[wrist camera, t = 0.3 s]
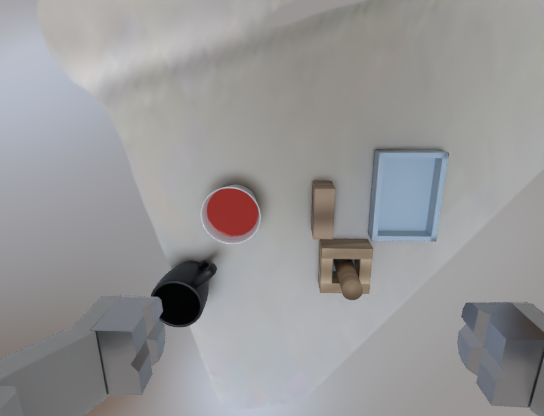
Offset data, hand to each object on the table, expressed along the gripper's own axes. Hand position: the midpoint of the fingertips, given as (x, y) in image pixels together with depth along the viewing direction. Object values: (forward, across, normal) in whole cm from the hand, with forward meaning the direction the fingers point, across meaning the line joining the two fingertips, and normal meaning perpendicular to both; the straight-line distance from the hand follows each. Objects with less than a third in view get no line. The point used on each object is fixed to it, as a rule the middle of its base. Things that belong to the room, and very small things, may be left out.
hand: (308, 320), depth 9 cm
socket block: (+47, -9, +21) cm, 52 cm away
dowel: (+47, -9, +21) cm, 52 cm away
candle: (+47, +9, +11) cm, 49 cm away
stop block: (+47, -5, +11) cm, 48 cm away
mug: (+47, +16, +23) cm, 55 cm away
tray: (+47, -18, +9) cm, 51 cm away
